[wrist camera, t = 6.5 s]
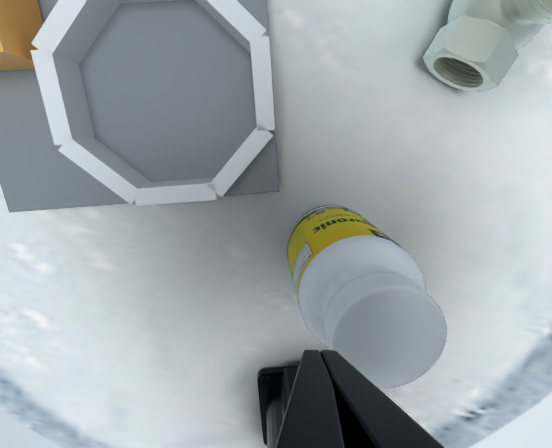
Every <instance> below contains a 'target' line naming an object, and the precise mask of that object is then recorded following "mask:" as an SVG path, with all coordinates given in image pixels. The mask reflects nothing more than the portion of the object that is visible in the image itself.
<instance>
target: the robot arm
mask: <svg viewBox="0 0 552 448" xmlns="http://www.w3.org/2000/svg"><path fill="white" fill-rule="evenodd" d="M264 376H265V377H267V378H262V377H264ZM258 390H259V400H260V410H261V420H262V430H263V439H264V444H266V445H267V448H444V447H443V446H442V445H441V444H440V443H439V442H438V441H437V440H436V439H434V438H433V437H432V436H431V435H430V434H429V433H428V432H427V431H425V430H424V429H423V428H422V427H421V426H420V425H419V424H418V423H417V422H415V421H414V420H413V419H412V418H411V417H410V416H409V415H408V414H406V413H405V412H404V411H403V410H402V409H401V408H400V407H399V406H397V405H396V404H395V403H394V402H393V401H392V400H391V399H390V398H388V397H387V396H386V395H385V394H384V393H383V392H382V391H381V390H380V389H378V388H377V387H376V386H375V385H374V384H373V383H372V382H371V381H369V380H368V379H367V378H366V377H365V376H364V375H363V374H362V373H360V372H359V371H358V370H357V369H356V368H355V367H354V366H353V365H351V364H350V363H349V362H348V361H347V360H346V359H345V358H344V357H343V356H341V355H340V354H339V353H338V352H337V351H335V350H321V351H320V352H319V351H318V350H304V351H303V354H302V357H301V361H300V364H299V366H294V367H284V368H273V369H264V370H261V371H259V373H258Z"/></svg>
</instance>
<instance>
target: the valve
mask: <svg viewBox="0 0 552 448" xmlns="http://www.w3.org/2000/svg"><path fill="white" fill-rule="evenodd" d="M548 23H552V0H453V2H452V4H451V7H450V10H449V15H448V24H447V25H445V26H443V27H442V28H440V30H439V31H438V33H437V34H436V36H435V38H434V39H433V41H432V43H431V44H430V46H429V48H428V49H427V51H426V52H425V54H424V56H423V59H424V62H425V64H426V66H427V68H428V70H429V71H430V72H431V73H432V74H433V75H434V76H435V77H436V78H438V79H439V80H441V81H442V82H444V83H446V84H448V85H450V86H452V87H455V88H458V89H461V90H465V91H471V92H481V91H485V90H489V89H491V88H494V87H496V86H498V84H499V83H500V81H501V80H502V78H503V77H504V76H505V74H506V73H507V71H508V70H509V68H510V67H511V65H512V64H513V62H514V61H515V59H516V58H517V56H518V54H517V52H516V50H518V49H519V48H521V47H522V46H524V45H525V44H526V43H527V42H529V41H530V40H531V39H532V38H533V37H534V36H535V35H536V34H537V33H538V32H539V31H540V29H541V28H542V27H543V26H544V24H548Z"/></svg>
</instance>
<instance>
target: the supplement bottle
mask: <svg viewBox="0 0 552 448" xmlns="http://www.w3.org/2000/svg"><path fill="white" fill-rule="evenodd" d="M287 255H288V261H289V265H290V269H291V274H292V278H293V282H294V286H295V290H296V294H297V299H298V303H299V307H300V311H301V314H302V317H303V320H304V322H305V324H306V326H307V328H308V329H309V331H310V332H311V334H312V335H313V336H314V337H315V338H316V339H317V340H318V341H319V342H320V343H322V344H323V345H324V346H326V347H327V348H329V349H330V350H335V351H337V352H338V353H339V354H340V355H341V356H343V357H344V358H345V359H346V360H347V361H348V362H349V363H350V364H351V365H353V366H354V367H355V368H356V369H357V370H358V371H359V372H360V373H362V374H363V375H364V376H365V377H366V378H367V379H368V380H369V381H371V382H372V383H373V384H374V385H375V386H376V387H377V388H392V387H397V386H401V385H404V384H407V383H409V382H411V381H414V380H415V379H417V378H419V377H420V376H422V375H423V374H424V373H426V372H427V371H428V370H429V369H430V368H431V367H432V366H433V365H434V364H435V362H436V361H437V360H438V358H439V356H440V355H441V353H442V351H443V348H444V345H445V342H446V335H447V327H446V321H445V317H444V315H443V313H442V311H441V309H440V307H439V306H438V304H437V303H436V302H435V301H434V300H433V299H432V298H431V297H430V296H429V295H428V294H427V293H426V289H425V282H424V278H423V275H422V273H421V270H420V268H419V266H418V265H417V263H416V262H415V260H414V259H413V258H412V257H411V256H410V255H409V254H408V253H407V252H406V251H405V250H404V249H403V248H402V247H401V246H399V245H398V244H397V243H395V242H394V241H392V240H391V239H390V238H389V237H387V236H386V235H385V234H384V233H382V232H381V231H380V230H378V229H377V228H376V227H375V226H373V225H372V224H371V223H369V222H368V221H367V220H366V219H364V218H363V217H362V216H360V215H359V214H357V213H356V212H354V211H352V210H350V209H348V208H345V207H341V206H323V207H319V208H316V209H314V210H312V211H310V212H308V213H306V214H305V215H304V216H302V217H301V218H300V219H299V220H298V222H297V223H296V224H295V226H294V227H293V229H292V231H291V233H290V236H289V239H288V245H287Z"/></svg>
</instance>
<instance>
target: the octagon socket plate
mask: <svg viewBox="0 0 552 448" xmlns="http://www.w3.org/2000/svg"><path fill="white" fill-rule="evenodd" d="M38 4H39V8H40V12H41V16H42V20H43V25H42V27H41V29H40V30H39V32H38V33H37V35H36V37H35V38H34V40H33V41H32V43H31V44H32V45H34V46H35V47H36V48H37V49H39V50H30V51H31V55H32V59H33V63H34V67H35V69H27V70H11V71H0V184H1V187H2V190H3V194H4V197H5V200H6V203H7V206H8V210H9V212H19V211H33V210H46V209H59V208H72V207H85V206H98V205H111V204H124V203H129V204H132V203H136V206H144V205H157V204H170V203H183V202H196V201H209V200H217V198H218V197H219V196H220V197H222V196H229V195H242V194H255V193H268V192H279V184H278V168H277V153H276V137H275V119H274V104H273V88H272V73H271V57H270V42H269V30H268V14H267V0H38Z"/></svg>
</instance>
